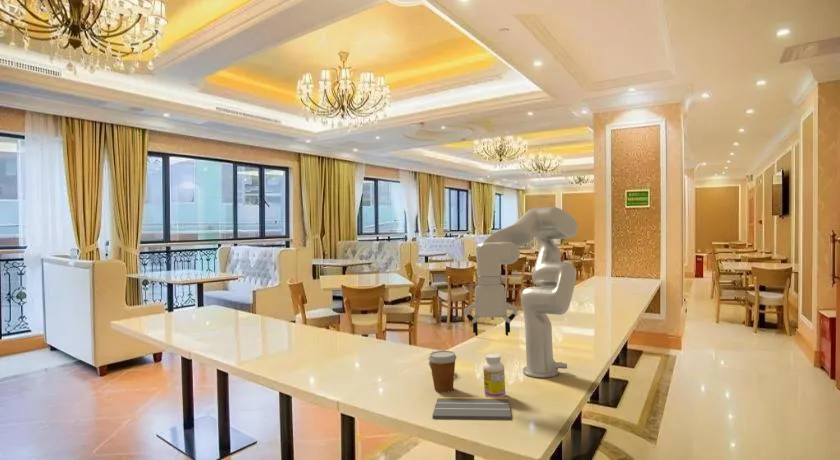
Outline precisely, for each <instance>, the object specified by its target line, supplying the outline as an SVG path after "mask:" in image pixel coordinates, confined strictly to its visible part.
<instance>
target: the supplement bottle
mask: <svg viewBox="0 0 840 460" xmlns="http://www.w3.org/2000/svg"><path fill="white" fill-rule="evenodd" d="M485 360H486V362H485V363H484V364H483V369H482V370H483V385H484V386H483V387H484V388H483V390H484V391H483V392H484V397H506V380H505V379H506V378H505V365H504V364H503V363H502V362H501V354H499V353H489V354H486V355H485Z"/></svg>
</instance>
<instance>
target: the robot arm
mask: <svg viewBox="0 0 840 460" xmlns="http://www.w3.org/2000/svg"><path fill="white" fill-rule="evenodd" d="M578 231H579V225H578V222H577V219H576V218H575V217H574V216H572V214H570V213H568V212H567V211H565V210H563V209H561V208H559V207H556V206H546V207H533V208H530V209H528V210H527V211H526V212H525V213H524V214H523V215H522V216H521V217H520V218H518V220H516V221H515V223H513V224H511V225H509V226H507V227H504V228H502V229H500V230H497V231H495V232H493V233H491V234H490V235H488V236H487V237H486V238H485V239H483V241H482V242H481V243H479V244H477V246H476V249H475V250H476V251H475V252H476V273H477V285H475V289H474V303H472V304H471V305H469V306H466V307H465V308H463V312H464V315H465V316H466V318H467V319H468V320H469V321H470V323H472V333H473V334H474V335H475V337H478V335H479V331H478V329H479V328H478V322H477V321H478V320H479V318H503V319H504V320H505V322H504V327H505V329H504V330H505V332H504V333H505V336H509V333H511V322H512V321H514V319H515V318H516V316H517V314H518V311H519V308H518V307H516V306H514V305H513V304H510V303H508V302H507V297H506V295H507V294H506V290H505V286H504V285H503V284H502V283H505V282H507V281H506V280H507V278H506V277H503V276H502V272H501V271H502V269H501V267H502V266H501V265H511V264H512V265H513V264H515V263H516V262H518V260H519V258H520V255H521V251H520V248H519V247H521V246H524V245H527V244H529V243H530V242H531V241H532V240H533V239H534V238H535V239H536V240H535V241H536V244H537V247H538V254H537V257H536V260H535V264H534V268H533V269H532V270H533V271H532V275H531V279H532V283H533V284H535V286H529V287H526V288H524V289H523V290H522V291H521V294H520V303H521V308H522V312H523V317H524V318H523V319H524V328H525V329H524V332H525V333H524V334H525V352H526V366H525V367H523V368H522V374H523V375H526V376H528V377H532V378H540V379H541V378H553V377H556V376H557V375H559V369H562V370H563V369H565V370H566V369H568V363H567V362H562V361H555V360H554V349H553V347H554V346H553V331H552V330H553V327H552V322H551V320H550V318H549V316H548V315H557V316H558V315H564V314H566V313H567V312H568V311H569V308H570V304H571V301H572V298H573V293H574V290H575V286H576V280H577V272H576V268H575V266H574V265H573V264H572V263H570V262H567V261H561V257H562V251H561V250H560V248H559V246H558V244H557V243H555V241H554V240H566V239H567V240H569V239H572V238H574V237H575V236H576V235H577V233H578ZM507 309H509V310H511V311H512V312H511V314H510V315H509V316H508V315H507ZM471 310H474V316H472V315H471V313H470V311H471Z"/></svg>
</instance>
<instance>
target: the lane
mask: <svg viewBox="0 0 840 460" xmlns="http://www.w3.org/2000/svg"><path fill="white" fill-rule="evenodd" d="M509 401H510V400H509V397H507V396H504V397H486V396H437V399H436V403H435V406H434V409H433V413H432V419H452V420H453V419H454V420H455V419H458V420H461V419H464V420H512V416H511V407H510V402H509Z"/></svg>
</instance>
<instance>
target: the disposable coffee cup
mask: <svg viewBox="0 0 840 460" xmlns="http://www.w3.org/2000/svg"><path fill="white" fill-rule="evenodd" d="M434 351H435V350H434ZM427 358H428V360H429V361H430V364H431V368H430V370H431V375H432V380H433V381H432V382H433V388H434V391H435V390H436V391H435V392H437V391H438V393H449V392H452V391H453V390H454V383H455V382H454V381H455V371H456V370H455V369H456V360H457V356H456V353H455V352H454V351H451V350H436V351H435V352H430V353H429V357H427ZM429 361H428V362H429ZM451 390H452V391H451ZM448 391H449V392H448Z"/></svg>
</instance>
